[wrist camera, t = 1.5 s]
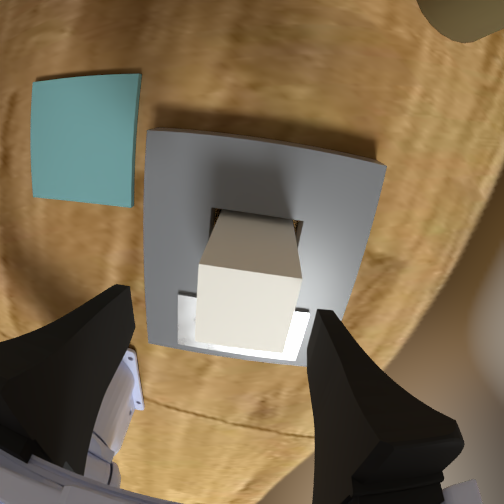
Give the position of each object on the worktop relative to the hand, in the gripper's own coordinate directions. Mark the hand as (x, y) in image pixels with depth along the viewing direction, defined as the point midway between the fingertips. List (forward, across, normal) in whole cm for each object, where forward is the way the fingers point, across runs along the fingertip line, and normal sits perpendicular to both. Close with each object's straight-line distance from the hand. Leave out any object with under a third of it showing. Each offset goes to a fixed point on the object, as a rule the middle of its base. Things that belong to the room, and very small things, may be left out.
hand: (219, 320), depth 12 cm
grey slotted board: (+10, -1, +2) cm, 11 cm away
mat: (+10, +12, -5) cm, 17 cm away
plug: (+10, -1, +2) cm, 11 cm away
